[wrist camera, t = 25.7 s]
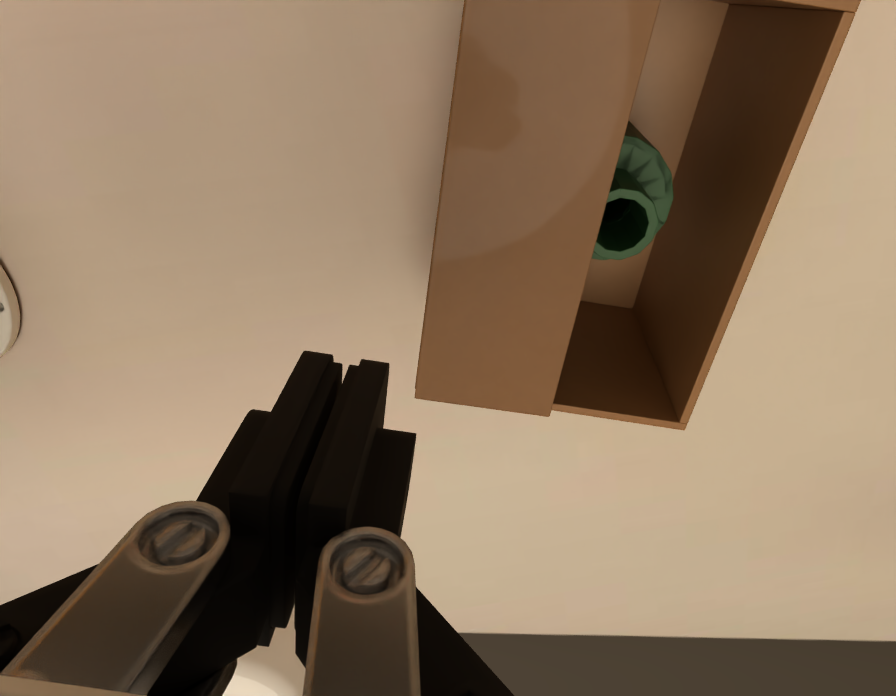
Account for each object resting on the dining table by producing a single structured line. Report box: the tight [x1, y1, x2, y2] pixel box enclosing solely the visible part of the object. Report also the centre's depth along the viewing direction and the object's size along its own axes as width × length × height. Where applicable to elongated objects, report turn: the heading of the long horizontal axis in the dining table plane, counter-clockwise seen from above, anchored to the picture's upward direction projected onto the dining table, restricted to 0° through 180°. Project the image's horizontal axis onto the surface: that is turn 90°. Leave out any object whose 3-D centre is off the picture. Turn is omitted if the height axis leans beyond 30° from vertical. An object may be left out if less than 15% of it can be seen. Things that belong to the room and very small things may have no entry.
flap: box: [415, 0, 661, 417], centre depth 24 cm, size 6×18×1 cm, turn 172°
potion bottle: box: [222, 604, 306, 696], centre depth 44 cm, size 8×8×18 cm
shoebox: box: [415, 0, 861, 430], centre depth 30 cm, size 13×18×12 cm
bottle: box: [592, 121, 674, 260], centre depth 30 cm, size 6×6×11 cm
